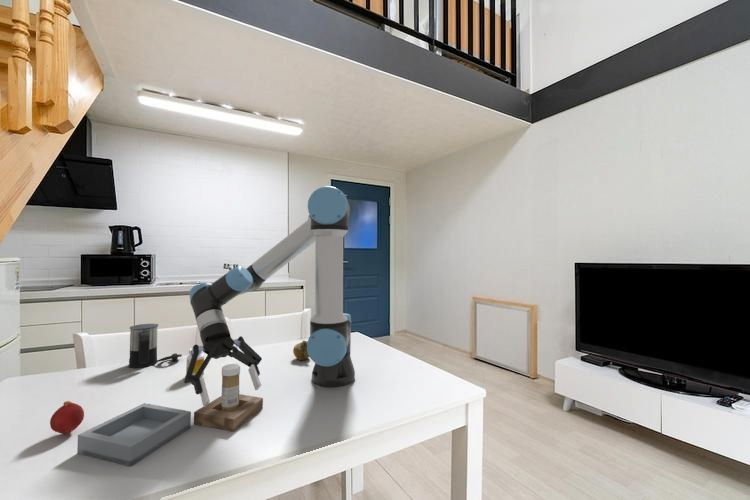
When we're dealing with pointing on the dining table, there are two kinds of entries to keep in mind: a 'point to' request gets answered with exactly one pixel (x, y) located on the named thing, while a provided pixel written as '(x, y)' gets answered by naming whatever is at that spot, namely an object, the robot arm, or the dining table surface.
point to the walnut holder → (228, 413)
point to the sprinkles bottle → (230, 387)
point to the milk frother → (145, 346)
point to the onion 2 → (301, 351)
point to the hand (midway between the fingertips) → (234, 395)
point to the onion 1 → (67, 418)
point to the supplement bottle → (198, 363)
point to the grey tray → (133, 434)
